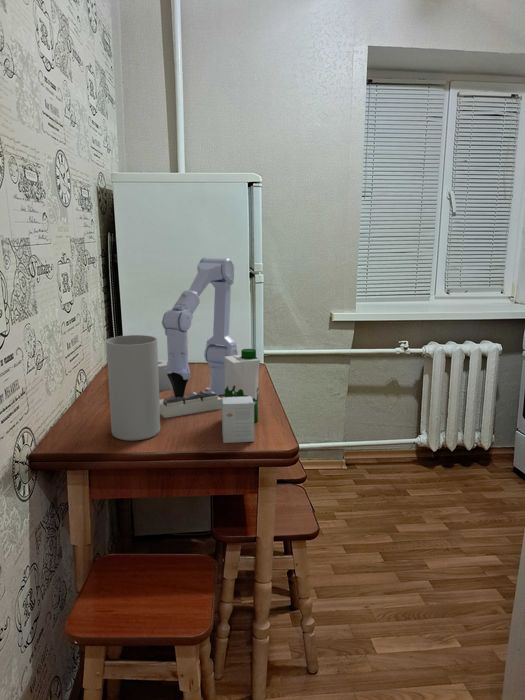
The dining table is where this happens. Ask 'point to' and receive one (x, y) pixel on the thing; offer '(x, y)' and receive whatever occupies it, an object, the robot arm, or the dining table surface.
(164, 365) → the toilet tissue
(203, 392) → the rocker
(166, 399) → the rocker
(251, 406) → the small box
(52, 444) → the dining table surface
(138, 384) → the cylinder vase
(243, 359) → the milk carton
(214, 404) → the switch panel
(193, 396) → the rocker
